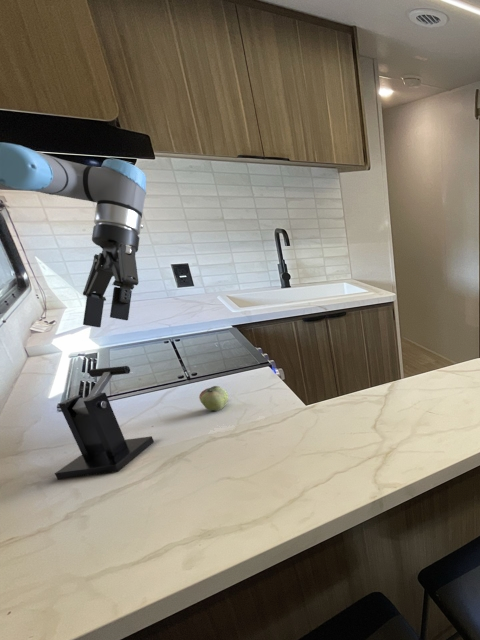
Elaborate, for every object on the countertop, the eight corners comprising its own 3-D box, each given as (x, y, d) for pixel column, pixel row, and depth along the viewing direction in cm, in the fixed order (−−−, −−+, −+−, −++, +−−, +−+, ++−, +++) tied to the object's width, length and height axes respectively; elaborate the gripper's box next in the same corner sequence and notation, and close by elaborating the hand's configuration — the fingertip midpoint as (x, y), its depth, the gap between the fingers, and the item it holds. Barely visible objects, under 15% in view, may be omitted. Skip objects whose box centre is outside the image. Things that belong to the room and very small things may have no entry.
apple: (230, 400, 110) (224, 380, 108) (231, 409, 104) (224, 388, 102) (204, 405, 107) (197, 385, 105) (203, 416, 101) (196, 394, 99)
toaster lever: (97, 374, 86) (90, 366, 84) (132, 371, 87) (125, 363, 86) (67, 418, 78) (58, 410, 76) (106, 413, 79) (98, 405, 77)
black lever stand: (102, 448, 87) (76, 390, 82) (154, 442, 89) (131, 384, 84) (57, 480, 76) (24, 414, 71) (118, 471, 78) (90, 406, 73)
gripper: (165, 225, 88) (154, 319, 85) (114, 248, 99) (102, 332, 96) (121, 209, 81) (107, 310, 78) (72, 235, 93) (58, 324, 90)
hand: (104, 322), depth 87 cm, fingers open, 13 cm apart
